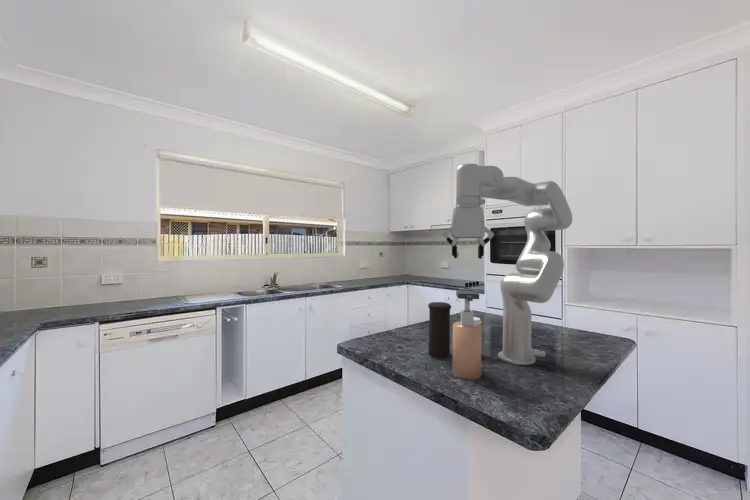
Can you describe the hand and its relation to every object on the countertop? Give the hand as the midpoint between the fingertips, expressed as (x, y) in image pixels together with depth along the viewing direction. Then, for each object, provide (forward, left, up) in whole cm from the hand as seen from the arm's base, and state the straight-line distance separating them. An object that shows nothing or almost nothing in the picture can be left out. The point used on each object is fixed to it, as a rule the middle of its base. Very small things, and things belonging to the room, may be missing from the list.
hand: (467, 257), depth 103 cm
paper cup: (-4, -19, -38) cm, 43 cm away
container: (+8, -17, -38) cm, 42 cm away
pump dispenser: (0, 0, -38) cm, 38 cm away
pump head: (0, +2, -17) cm, 18 cm away
